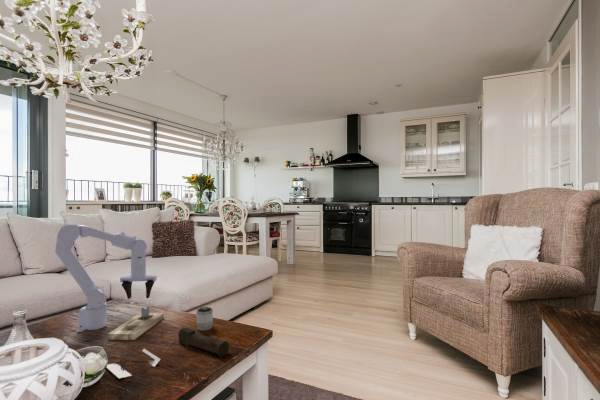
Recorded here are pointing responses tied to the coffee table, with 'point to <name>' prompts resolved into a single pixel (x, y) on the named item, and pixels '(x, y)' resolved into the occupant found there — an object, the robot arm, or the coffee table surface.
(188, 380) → the coffee table surface
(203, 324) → the camera lens
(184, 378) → the coffee table surface
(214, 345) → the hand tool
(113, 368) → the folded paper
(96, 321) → the robot arm
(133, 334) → the tool board
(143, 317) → the grey cylinder
